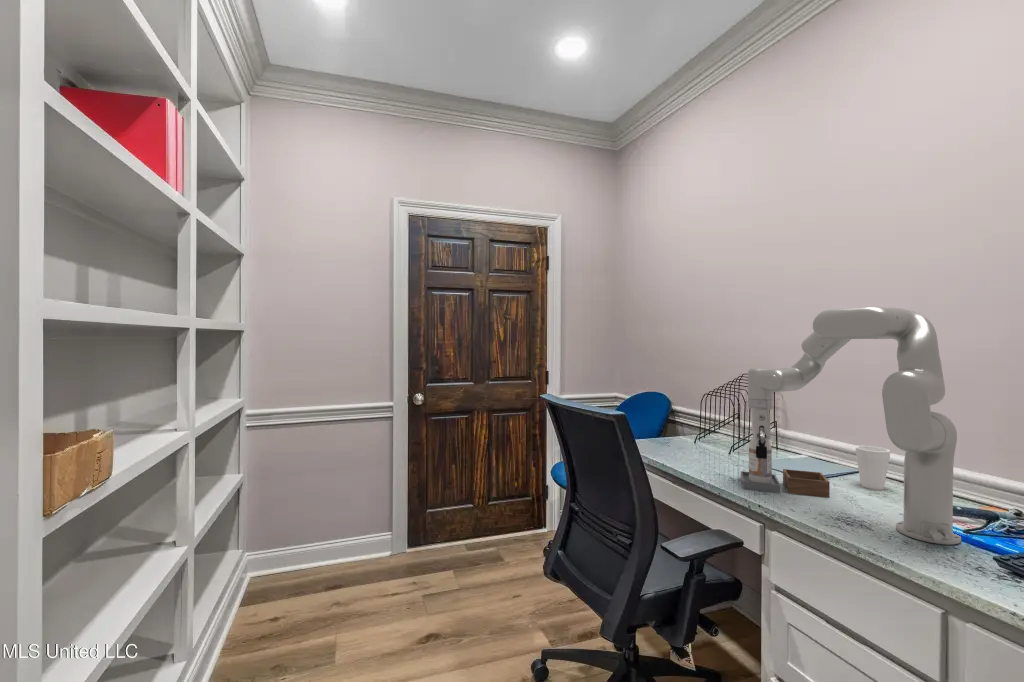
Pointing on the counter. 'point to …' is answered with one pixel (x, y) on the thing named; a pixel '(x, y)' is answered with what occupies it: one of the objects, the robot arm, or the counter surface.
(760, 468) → the bath foam
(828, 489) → the small wooden crate
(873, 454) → the foam cup
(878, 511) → the counter surface
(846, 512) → the counter surface
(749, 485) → the tray
